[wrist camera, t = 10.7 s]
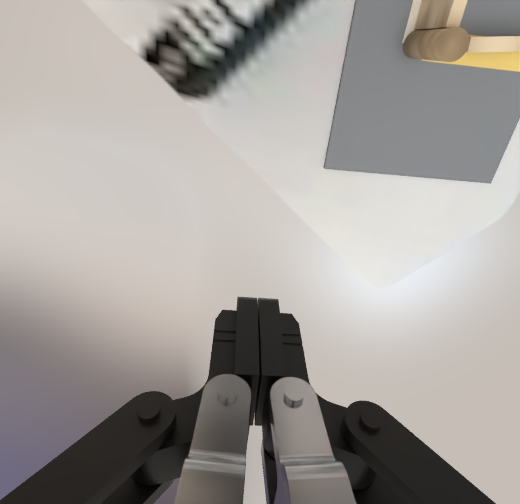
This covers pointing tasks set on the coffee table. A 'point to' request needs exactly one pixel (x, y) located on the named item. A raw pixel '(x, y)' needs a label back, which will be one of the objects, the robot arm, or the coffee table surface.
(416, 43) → the wooden toy fence
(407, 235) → the coffee table surface
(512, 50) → the fence panel
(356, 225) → the coffee table surface
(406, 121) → the card
